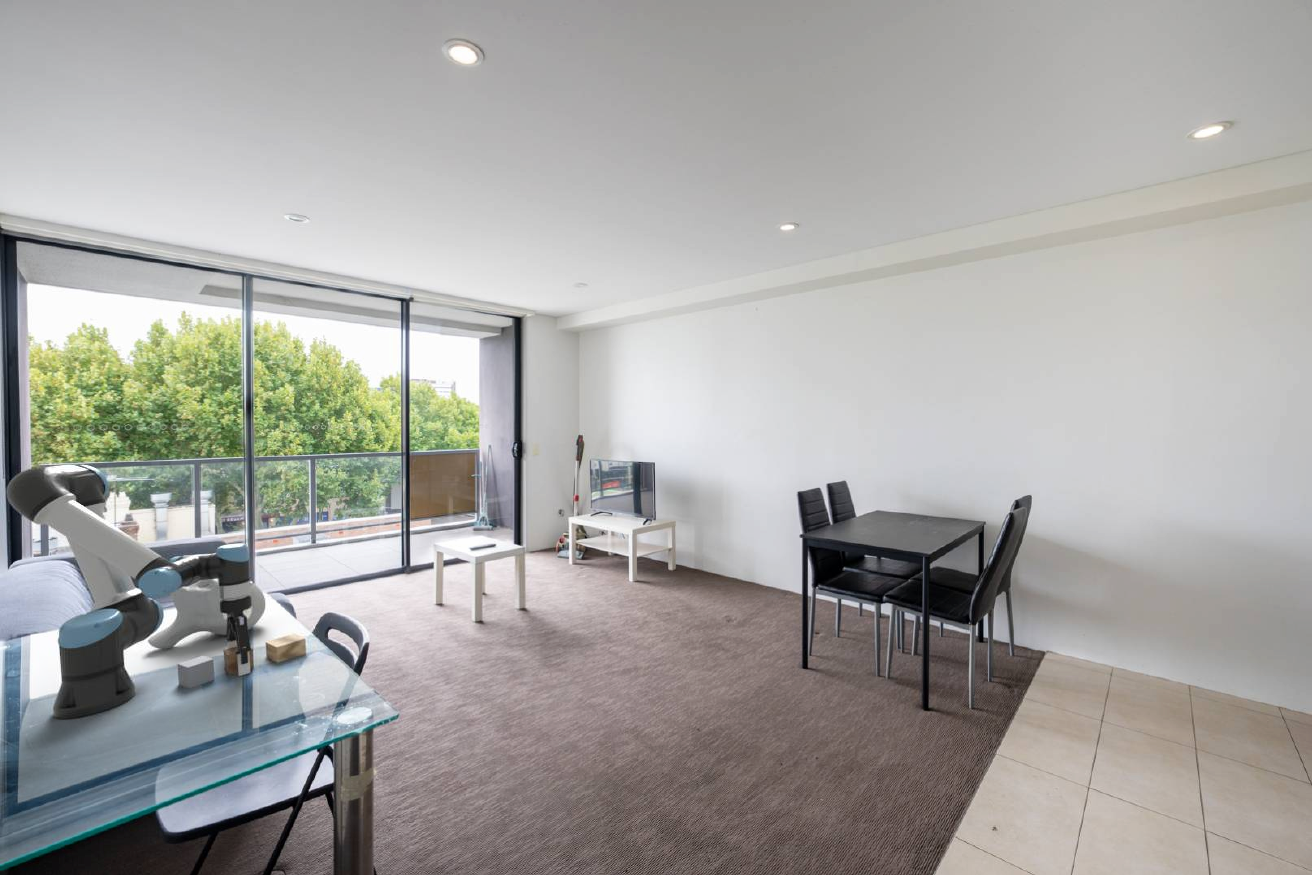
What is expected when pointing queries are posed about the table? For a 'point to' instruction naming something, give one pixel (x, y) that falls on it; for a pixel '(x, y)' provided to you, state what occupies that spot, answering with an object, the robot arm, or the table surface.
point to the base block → (285, 648)
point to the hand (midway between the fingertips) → (239, 667)
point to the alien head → (202, 613)
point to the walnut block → (234, 660)
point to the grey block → (195, 671)
